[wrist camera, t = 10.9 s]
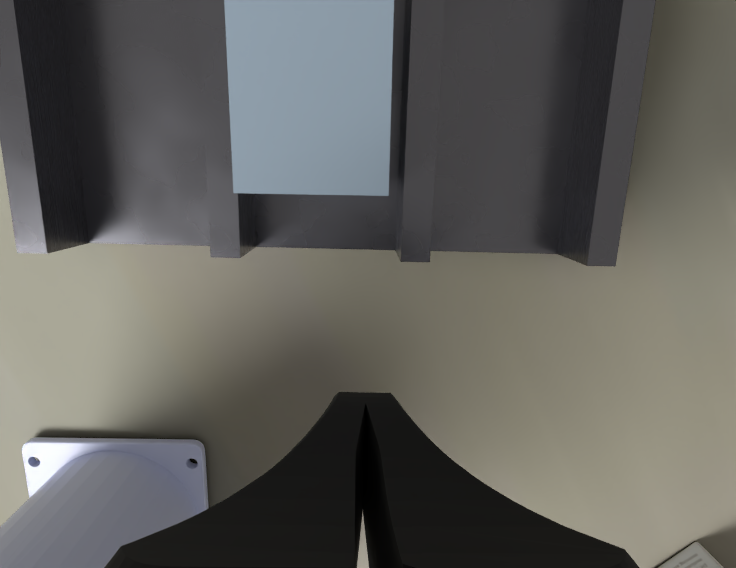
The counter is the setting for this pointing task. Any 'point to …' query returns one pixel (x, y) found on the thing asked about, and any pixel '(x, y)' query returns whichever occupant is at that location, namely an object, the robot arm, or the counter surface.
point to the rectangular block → (310, 95)
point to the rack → (325, 212)
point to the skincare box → (692, 558)
